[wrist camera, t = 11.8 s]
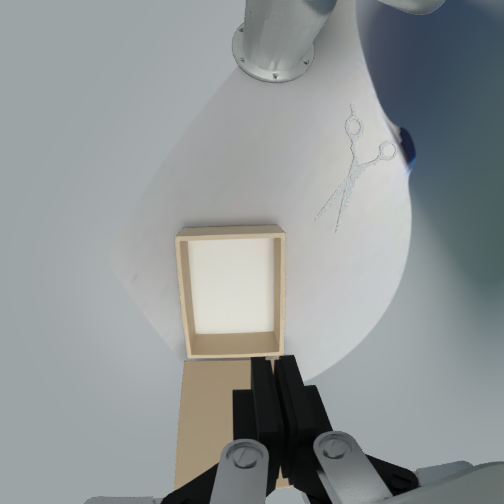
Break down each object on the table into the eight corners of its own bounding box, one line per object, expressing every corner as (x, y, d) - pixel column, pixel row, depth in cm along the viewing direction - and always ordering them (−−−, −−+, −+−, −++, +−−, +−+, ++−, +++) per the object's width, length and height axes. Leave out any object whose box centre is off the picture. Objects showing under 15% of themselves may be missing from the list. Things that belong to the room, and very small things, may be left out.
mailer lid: (174, 488, 24) (175, 489, 25) (309, 483, 25) (309, 484, 25) (184, 360, 41) (185, 363, 42) (286, 357, 42) (286, 359, 42)
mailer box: (183, 227, 44) (174, 236, 37) (277, 224, 45) (285, 232, 38) (193, 335, 48) (187, 358, 42) (277, 332, 49) (283, 354, 42)
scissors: (403, 139, 42) (351, 244, 46) (401, 140, 43) (349, 243, 47) (352, 102, 41) (294, 212, 44) (350, 104, 42) (293, 212, 45)
